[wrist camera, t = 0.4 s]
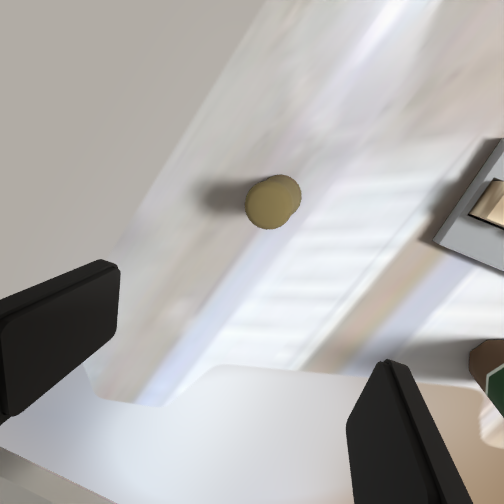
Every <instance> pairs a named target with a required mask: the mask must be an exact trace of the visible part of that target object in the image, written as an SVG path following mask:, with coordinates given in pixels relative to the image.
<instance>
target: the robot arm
mask: <svg viewBox="0 0 504 504" xmlns="http://www.w3.org/2000/svg"><path fill="white" fill-rule="evenodd" d="M120 275H121V273H120V270H119V269H118V267H117V265H116V264H114V263H111V262H108V261H105V260H102V259H100V260H96V261H94V262H91V263H89V264H87V265H84V266H81V267H79V268H77V269H74V270H72V271H69V272H67V273H64V274H62V275H59V276H57V277H54V278H53V279H50V280H47V281H45V282H43V283H40V284H37V285H35V286H33V287H30V288H28V289H25V290H23V291H20V292H18V293H15V294H13V295H10V296H8V297H6V298H3V299H1V300H0V425H1V424H2V423H4V422H5V421H6V420H7V419H9V418H10V417H11V416H16V415H18V414H20V413H21V412H22V411H24V410H25V409H26V408H28V407H29V406H30V405H31V404H32V403H34V402H35V401H36V400H37V399H39V398H40V397H41V396H42V395H43V394H45V393H46V392H47V391H48V390H50V389H51V388H52V387H53V386H54V385H56V384H57V383H58V382H59V381H60V380H62V379H63V378H64V377H65V376H66V375H68V374H69V373H70V372H71V371H72V370H74V369H75V368H76V367H77V366H79V365H80V364H81V363H82V362H84V361H85V360H86V359H87V358H88V357H90V356H91V355H92V354H93V353H94V352H96V351H97V350H98V349H99V348H101V347H102V346H103V345H104V344H105V343H107V342H108V341H109V340H110V339H111V338H112V337H113V336H114V334H115V332H116V328H117V315H118V302H119V289H120ZM346 437H347V445H348V454H349V462H350V471H351V478H352V487H353V496H354V504H473V502H472V500H471V498H470V496H469V494H468V492H467V489H466V487H465V485H464V483H463V481H462V479H461V477H460V475H459V473H458V471H457V468H456V466H455V464H454V462H453V460H452V458H451V456H450V454H449V452H448V450H447V447H446V445H445V443H444V441H443V439H442V437H441V435H440V433H439V431H438V428H437V427H436V424H435V422H434V420H433V418H432V416H431V414H430V412H429V410H428V407H427V405H426V403H425V401H424V399H423V397H422V395H421V393H420V391H419V389H418V386H417V384H416V382H415V380H414V378H413V376H412V374H411V372H410V370H409V368H408V366H406V365H404V364H401V363H398V362H395V361H392V360H389V359H386V360H385V361H384V362H381V361H380V362H378V363H377V364H376V366H375V368H374V370H373V372H372V374H371V376H370V378H369V380H368V382H367V383H366V386H365V387H364V389H363V391H362V393H361V395H360V397H359V399H358V400H357V403H356V404H355V406H354V408H353V410H352V412H351V414H350V416H349V418H348V420H347V423H346ZM0 504H117V503H115V502H113V501H111V500H109V499H107V498H105V497H103V496H101V495H98V494H97V493H94V492H92V491H90V490H88V489H86V488H84V487H82V486H80V485H78V484H76V483H74V482H72V481H70V480H68V479H66V478H64V477H62V476H60V475H58V474H56V473H54V472H52V471H50V470H47V469H45V468H43V467H41V466H39V465H37V464H35V463H33V462H31V461H29V460H27V459H25V458H23V457H21V456H19V455H16V454H14V453H12V452H10V451H8V450H6V449H4V448H2V447H0Z"/></svg>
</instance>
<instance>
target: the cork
mask: <svg viewBox="0 0 504 504" xmlns="http://www.w3.org/2000/svg"><path fill="white" fill-rule="evenodd" d="M300 202H301V190H300V187H299V185H298V184H297V182H296V181H295V180H294V179H292V178H291V177H289V176H286V175H274V176H272V177H270V178H268V179H267V180H266V181H262V182H260V183H257V184H255V185H254V186H253V187H252V188H251V189H250V190H249V192H248V194H247V196H246V200H245V212H246V214H247V216H248V218H249V220H250V221H251V222H252V223H253V224H254V225H256V226H257V227H259V228H263V229H276V228H278V227H281V226H282V225H283V224H285V223H286V222H287V221H288V219H289V218H290V216H291V215H292V214H293V213H294V212H296V210H297V209H298V207H299V206H300Z"/></svg>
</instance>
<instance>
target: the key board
mask: <svg viewBox="0 0 504 504" xmlns="http://www.w3.org/2000/svg"><path fill="white" fill-rule="evenodd" d="M492 180H493V181H504V138H502V139H501V140H500V142H499V143H498V145H497V146H496V148H495V149H494V151H493V152H492V154H491V155H490V156H489V158H488V159H487V161H486V162H485V164H484V165H483V167H482V168H481V170H480V171H479V173H478V174H477V176H476V177H475V178H474V180H473V181H472V183H471V184H470V186H469V187H468V189H467V190H466V192H465V193H464V195H463V196H462V197H461V199H460V200H459V202H458V203H457V205H456V206H455V208H454V209H453V211H452V212H451V214H450V215H449V217H448V218H447V219H446V221H445V222H444V224H443V225H442V227H441V228H440V230H439V231H438V233H437V234H436V236H435V237H434V238H433V241H434V242H436V243H437V244H439V245H442V246H444V247H446V248H449V249H451V250H454V251H456V252H458V253H461V254H463V255H466V256H468V257H470V258H473V259H475V260H478V261H480V262H482V263H485V264H487V265H490V266H492V267H494V268H497V269H499V270H502V271H504V227H501V226H499V225H497V226H496V227H494V226H492V225H490V224H487V223H485V222H482V221H480V220H477V219H475V218H472V217H470V216H467V214H468V213H469V212H470V210H471V209H472V207H473V206H474V205H475V203H476V202H477V200H478V199H479V198H480V196H481V195H482V193H483V192H484V191H485V189H486V188H487V186H488V185H489V183H490V182H491V181H492Z"/></svg>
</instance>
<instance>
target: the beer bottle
mask: <svg viewBox="0 0 504 504" xmlns="http://www.w3.org/2000/svg"><path fill="white" fill-rule="evenodd" d="M469 371H470V373H471V374H472V376H473V377H474V379H475V380H476V382H477V383H478V384H479V386H480V387H481V388H482V390H483V391H484V392H485V394H486V395H487V396H488V398H489V399H490V400H491V401H492V403H493V404H494V405H495V407H496V408H497V409H498V411H499V412H500V413H501V415H502V416H503V417H504V340H486V341H485V342H483V343H482V344H481V345H479V346H478V347H476V348H475V349H473V350H472V351H471V352H470V357H469Z"/></svg>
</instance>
